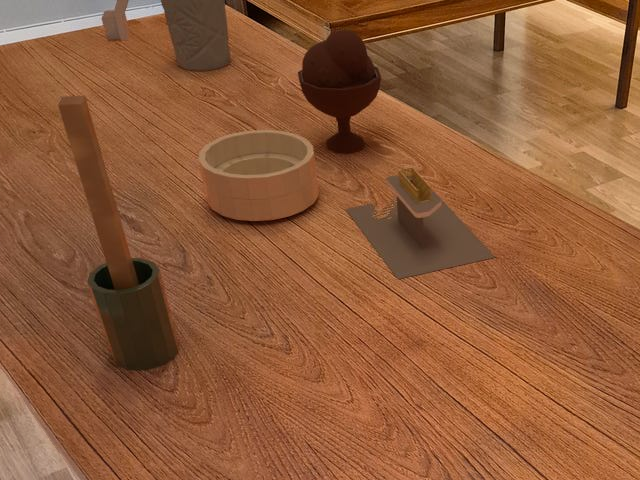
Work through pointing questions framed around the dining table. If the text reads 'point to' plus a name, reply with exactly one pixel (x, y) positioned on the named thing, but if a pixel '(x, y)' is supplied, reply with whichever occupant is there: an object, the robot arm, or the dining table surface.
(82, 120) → the brown wooden stick
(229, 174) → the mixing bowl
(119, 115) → the dining table surface
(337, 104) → the ice cream bowl
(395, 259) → the platform
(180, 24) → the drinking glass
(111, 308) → the crock
